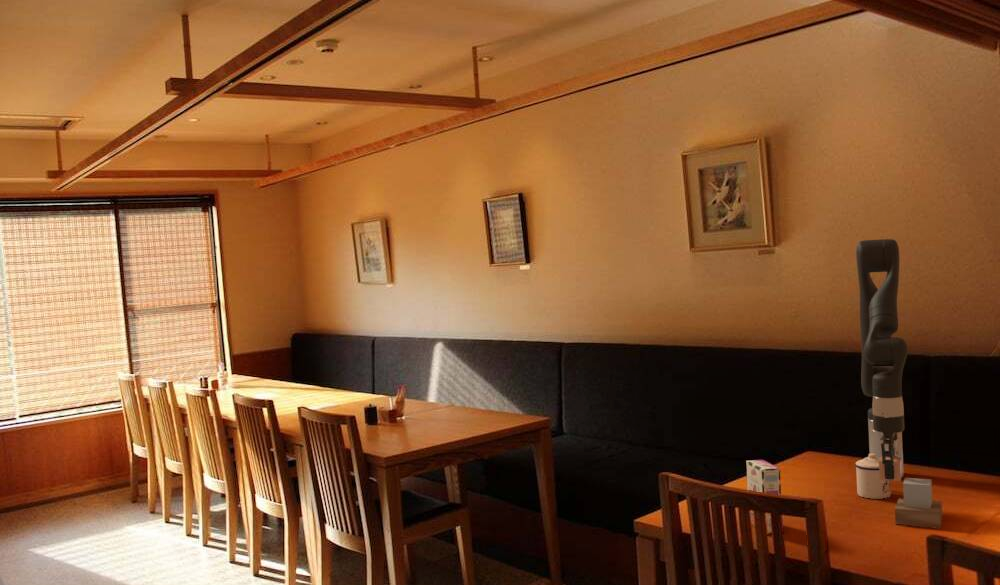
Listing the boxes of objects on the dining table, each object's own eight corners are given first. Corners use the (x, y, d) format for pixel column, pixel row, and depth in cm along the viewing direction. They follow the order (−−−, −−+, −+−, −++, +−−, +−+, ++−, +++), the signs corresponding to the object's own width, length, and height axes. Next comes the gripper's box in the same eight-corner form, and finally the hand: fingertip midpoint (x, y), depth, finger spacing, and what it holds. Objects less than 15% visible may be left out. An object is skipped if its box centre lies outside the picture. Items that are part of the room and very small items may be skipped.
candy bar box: (784, 533, 215) (781, 468, 214) (764, 535, 215) (761, 469, 214) (766, 520, 226) (763, 458, 226) (747, 522, 226) (744, 459, 225)
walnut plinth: (899, 513, 226) (898, 498, 226) (942, 517, 221) (941, 501, 221) (895, 524, 217) (894, 508, 217) (940, 528, 212) (939, 512, 212)
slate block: (906, 500, 223) (905, 477, 223) (932, 502, 220) (931, 479, 220) (904, 507, 218) (903, 483, 218) (930, 509, 215) (929, 485, 215)
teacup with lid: (890, 500, 237) (888, 458, 237) (855, 498, 241) (853, 457, 241) (893, 489, 248) (891, 449, 247) (858, 487, 252) (857, 447, 252)
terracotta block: (881, 474, 233) (880, 456, 233) (902, 476, 230) (901, 457, 230) (879, 479, 229) (878, 461, 228) (900, 481, 226) (899, 462, 226)
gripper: (876, 406, 237) (878, 468, 238) (869, 417, 224) (872, 482, 225) (906, 407, 233) (908, 470, 234) (901, 419, 220) (903, 484, 221)
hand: (890, 475), depth 229 cm, fingers closed on terracotta block, 5 cm apart
